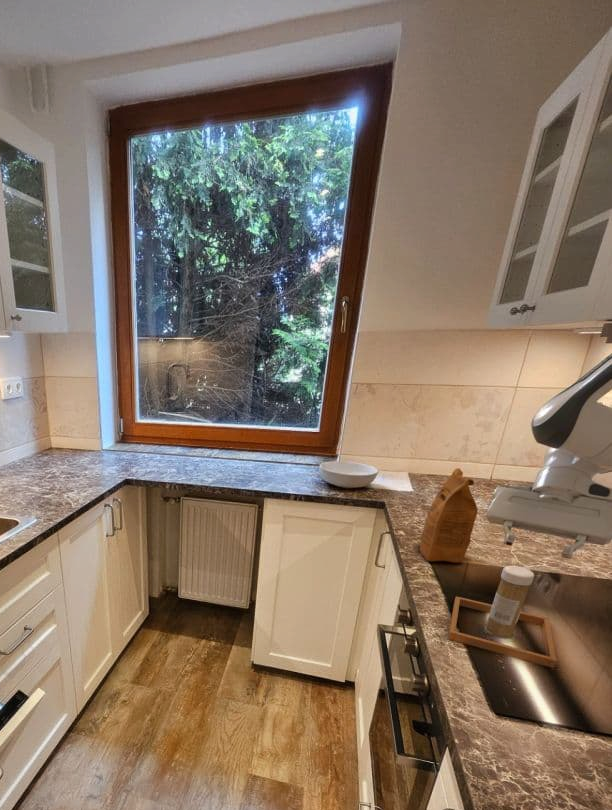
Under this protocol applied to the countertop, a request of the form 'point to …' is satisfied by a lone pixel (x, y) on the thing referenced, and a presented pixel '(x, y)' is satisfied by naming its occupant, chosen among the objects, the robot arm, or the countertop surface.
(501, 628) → the sprinkles bottle
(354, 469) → the serving bowl
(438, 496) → the coffee package
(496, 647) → the wooden frame
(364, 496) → the countertop surface
